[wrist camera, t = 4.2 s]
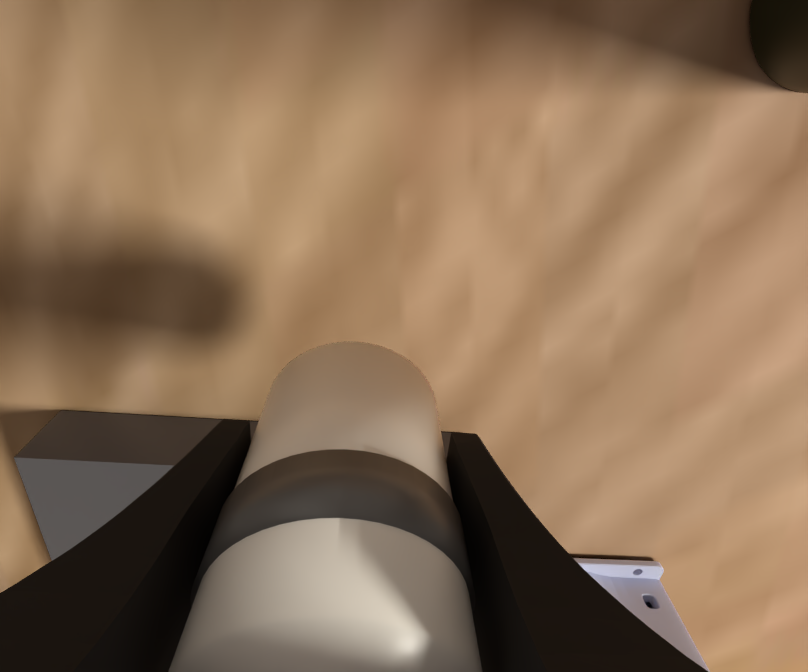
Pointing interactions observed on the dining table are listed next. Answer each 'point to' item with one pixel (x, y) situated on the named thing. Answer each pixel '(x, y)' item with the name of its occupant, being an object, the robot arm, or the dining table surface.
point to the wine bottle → (781, 40)
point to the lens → (338, 532)
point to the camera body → (102, 467)
